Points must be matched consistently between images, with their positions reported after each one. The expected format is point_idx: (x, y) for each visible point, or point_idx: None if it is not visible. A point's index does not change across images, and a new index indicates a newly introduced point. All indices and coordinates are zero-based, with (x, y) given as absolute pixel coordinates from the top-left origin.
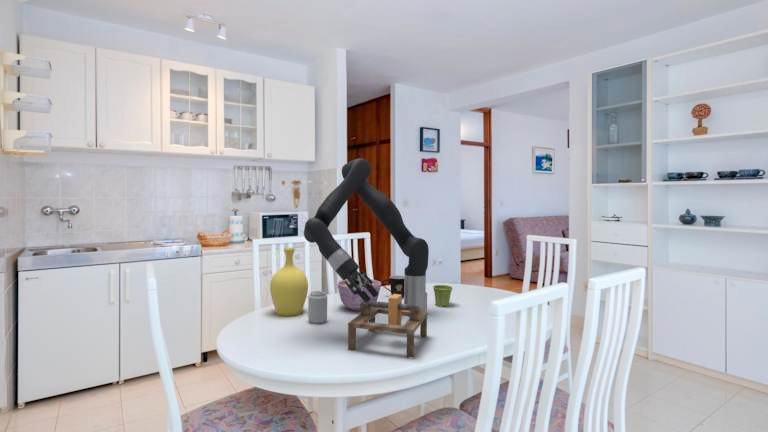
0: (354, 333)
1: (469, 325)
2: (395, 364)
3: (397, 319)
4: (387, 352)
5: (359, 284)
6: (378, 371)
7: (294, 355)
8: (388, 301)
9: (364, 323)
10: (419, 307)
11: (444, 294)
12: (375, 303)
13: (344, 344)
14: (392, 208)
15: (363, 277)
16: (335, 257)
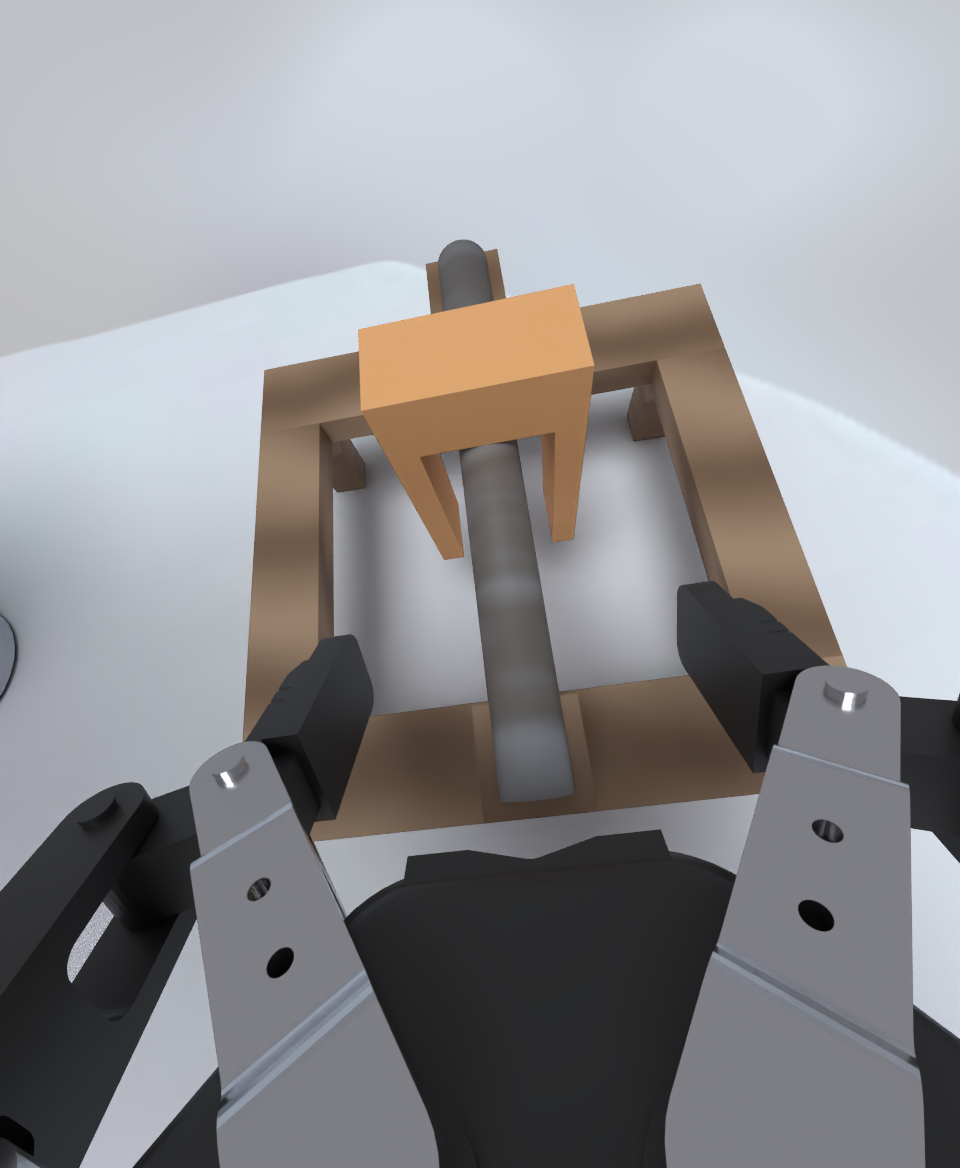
0: None
1: (124, 367)
2: (780, 440)
3: (451, 501)
4: (660, 536)
5: (900, 806)
6: (915, 467)
7: None
8: (589, 397)
9: (797, 622)
10: (431, 267)
11: None
12: (540, 604)
13: (697, 843)
14: None
15: (304, 997)
16: None
